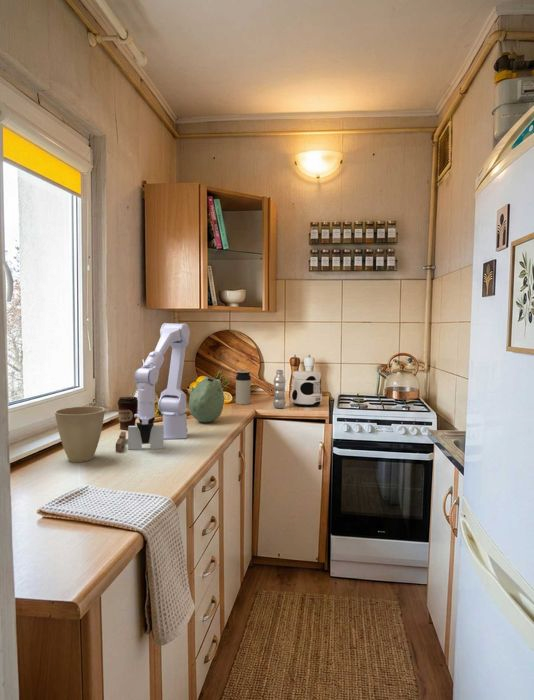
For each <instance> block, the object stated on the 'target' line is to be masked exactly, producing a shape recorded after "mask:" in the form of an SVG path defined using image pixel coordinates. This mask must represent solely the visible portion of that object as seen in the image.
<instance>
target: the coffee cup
mask: <svg viewBox="0 0 534 700" xmlns="http://www.w3.org/2000/svg"><path fill="white" fill-rule="evenodd" d="M117 406H118V421H119V429H121V430H128V426H136V420H137V419H138V417H134V415H135V414H138V396H120V397H119V399H118V400H117Z"/></svg>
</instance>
